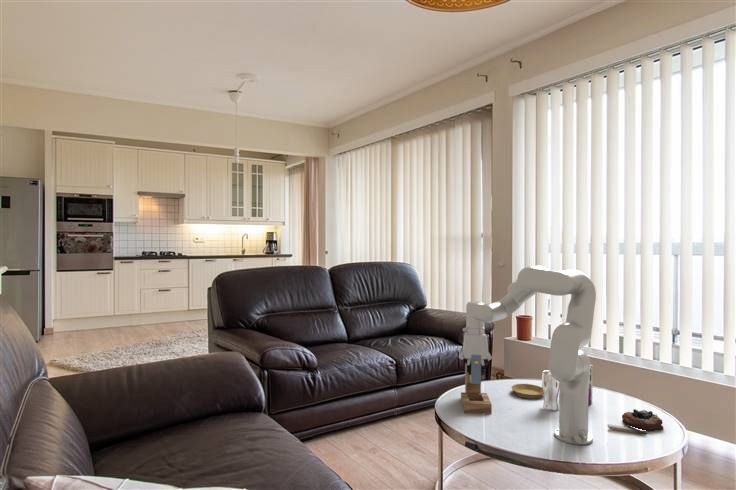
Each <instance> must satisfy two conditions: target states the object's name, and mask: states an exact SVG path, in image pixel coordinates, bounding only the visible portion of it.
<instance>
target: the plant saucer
mask: <svg viewBox="0 0 736 490" xmlns="http://www.w3.org/2000/svg"><path fill="white" fill-rule="evenodd" d="M511 389H512V391H513V392H514V394H515V395H517V396H518V397H521V398H525V399H538V398H541V397H543V396H544V395H543V389H542V386H540V385H536V384H530V383H518V384H517V383H516V384H513V385H512V386H511Z"/></svg>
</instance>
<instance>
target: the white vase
mask: <svg viewBox="0 0 736 490" xmlns="http://www.w3.org/2000/svg"><path fill="white" fill-rule="evenodd" d="M559 385H560V381H558V380H556V379H555V378H554V377H553V376H552V375H551V373H550V371H549V369H547V370H543V371H542V374H541V387H542V389H543V395H542V396H543V403H542V408H543V409H544V410H546V411H551V412H555V411H558V410H559V402H558V399H559Z"/></svg>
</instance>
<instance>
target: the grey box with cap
mask: <svg viewBox="0 0 736 490" xmlns="http://www.w3.org/2000/svg"><path fill="white" fill-rule="evenodd" d="M470 365H471V375H470V382H471V384H481V385H482V375H481V355H471V361H470Z"/></svg>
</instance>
